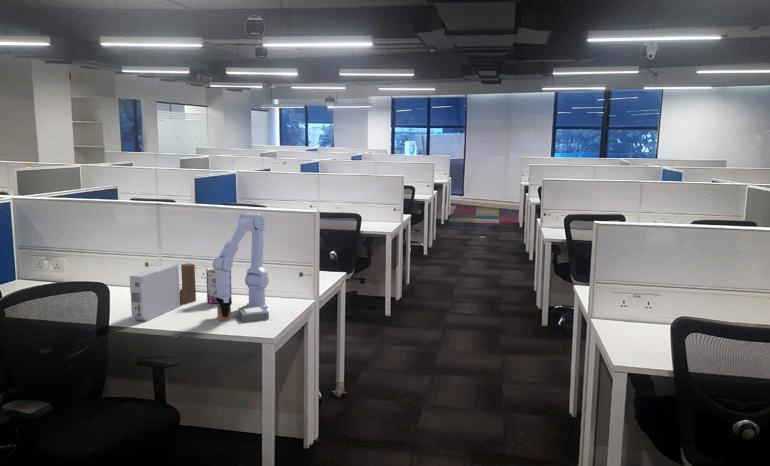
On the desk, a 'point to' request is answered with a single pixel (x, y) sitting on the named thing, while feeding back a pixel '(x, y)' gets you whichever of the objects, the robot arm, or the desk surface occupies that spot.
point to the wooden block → (188, 284)
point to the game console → (154, 292)
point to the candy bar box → (213, 285)
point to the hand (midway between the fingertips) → (224, 315)
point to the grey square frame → (253, 313)
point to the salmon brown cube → (221, 314)
